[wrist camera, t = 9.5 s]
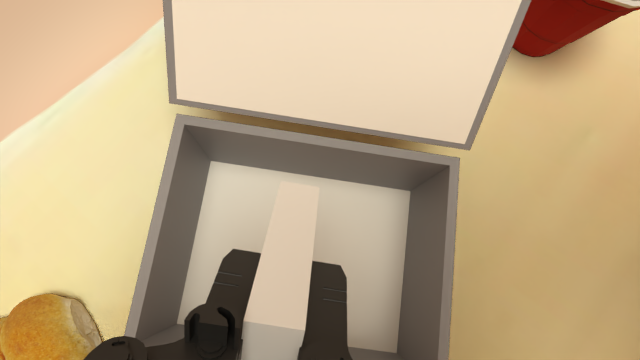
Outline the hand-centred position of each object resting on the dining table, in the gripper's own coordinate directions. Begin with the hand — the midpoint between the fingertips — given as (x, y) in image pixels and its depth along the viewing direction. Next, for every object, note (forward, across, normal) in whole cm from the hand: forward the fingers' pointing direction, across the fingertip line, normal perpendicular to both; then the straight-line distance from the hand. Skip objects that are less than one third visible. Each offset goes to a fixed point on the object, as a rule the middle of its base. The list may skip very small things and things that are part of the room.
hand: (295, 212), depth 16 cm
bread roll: (+5, -17, -20) cm, 27 cm away
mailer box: (+12, +1, -12) cm, 17 cm away
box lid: (+9, +1, +7) cm, 12 cm away
